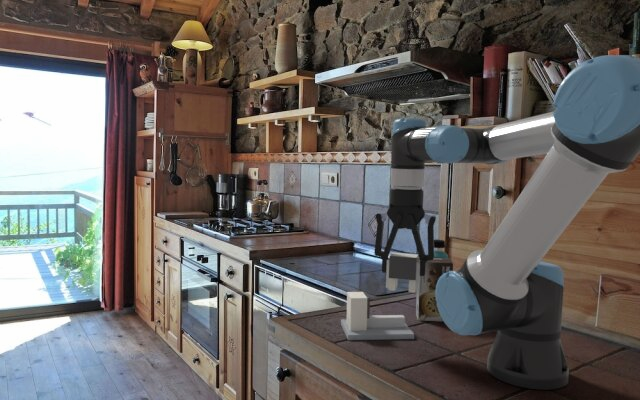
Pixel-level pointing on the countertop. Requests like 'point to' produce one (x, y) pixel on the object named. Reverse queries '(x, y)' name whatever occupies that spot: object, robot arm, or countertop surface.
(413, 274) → the white bridge block
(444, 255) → the beverage bottle
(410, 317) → the countertop surface
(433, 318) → the coffee box
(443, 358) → the countertop surface
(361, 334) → the rail base
